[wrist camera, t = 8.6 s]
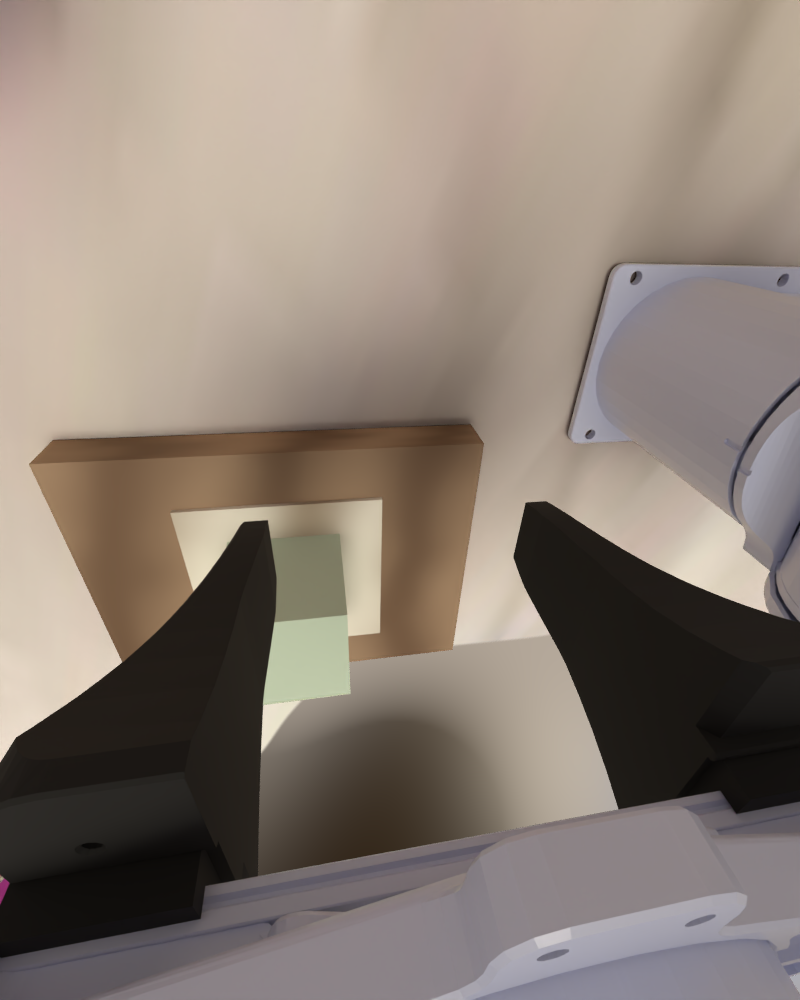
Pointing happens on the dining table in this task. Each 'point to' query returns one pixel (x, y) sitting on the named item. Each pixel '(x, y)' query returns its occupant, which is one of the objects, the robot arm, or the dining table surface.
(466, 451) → the base board
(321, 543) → the sage cube
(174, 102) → the dining table surface
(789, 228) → the dining table surface
